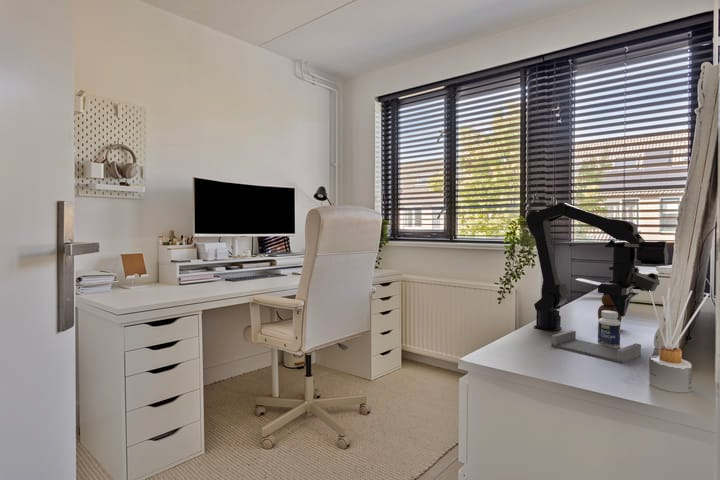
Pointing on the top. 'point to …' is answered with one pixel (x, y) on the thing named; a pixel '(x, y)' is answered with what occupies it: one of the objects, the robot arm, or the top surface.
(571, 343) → the tray
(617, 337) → the pill bottle
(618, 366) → the top surface
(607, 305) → the wooden figurine
